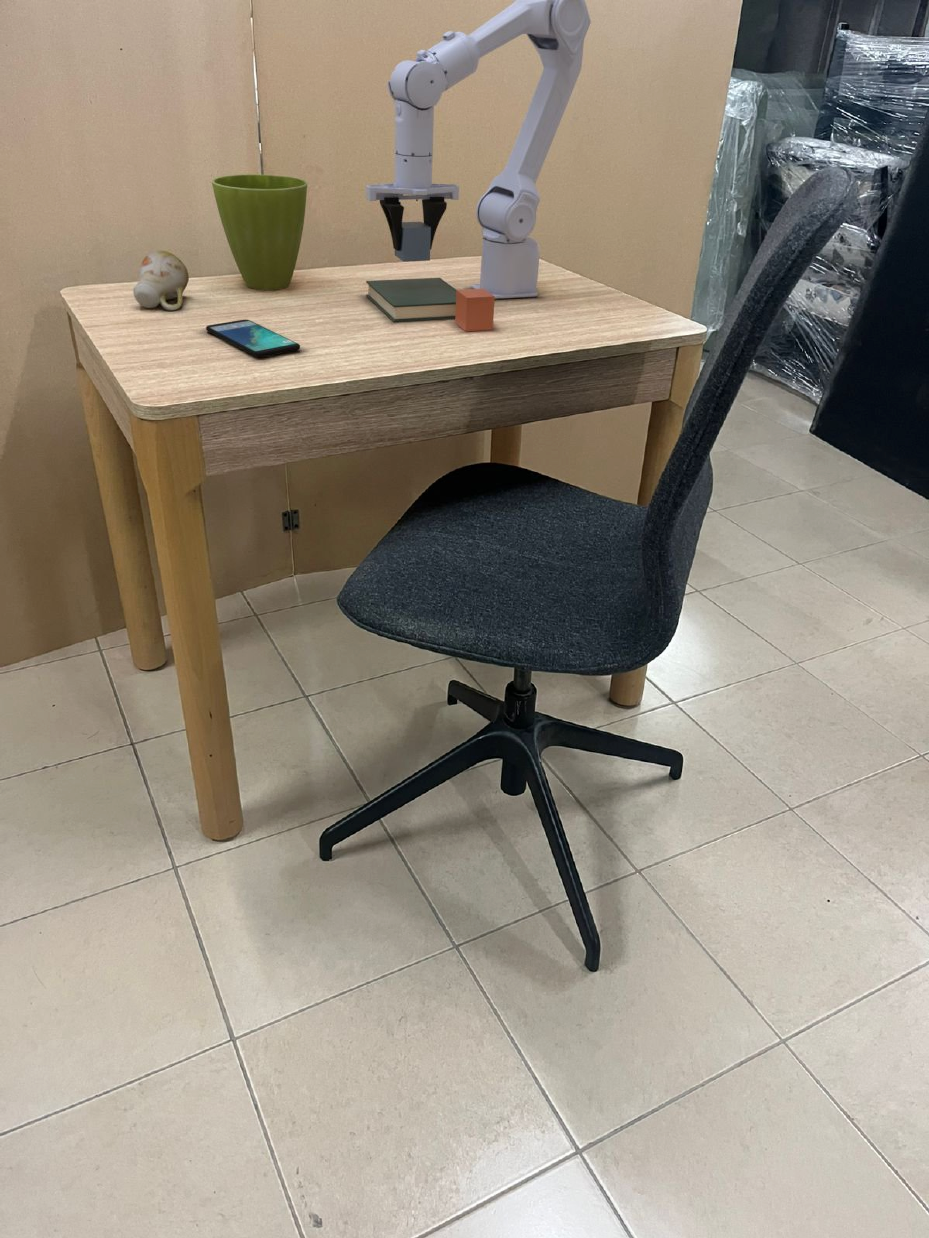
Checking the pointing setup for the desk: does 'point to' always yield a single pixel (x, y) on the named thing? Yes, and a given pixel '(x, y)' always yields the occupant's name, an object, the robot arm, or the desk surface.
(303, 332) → the desk surface
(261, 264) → the flower pot
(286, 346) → the smartphone
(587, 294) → the desk surface
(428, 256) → the slate block
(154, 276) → the mug
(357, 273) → the desk surface
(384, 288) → the book
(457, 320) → the terracotta block
